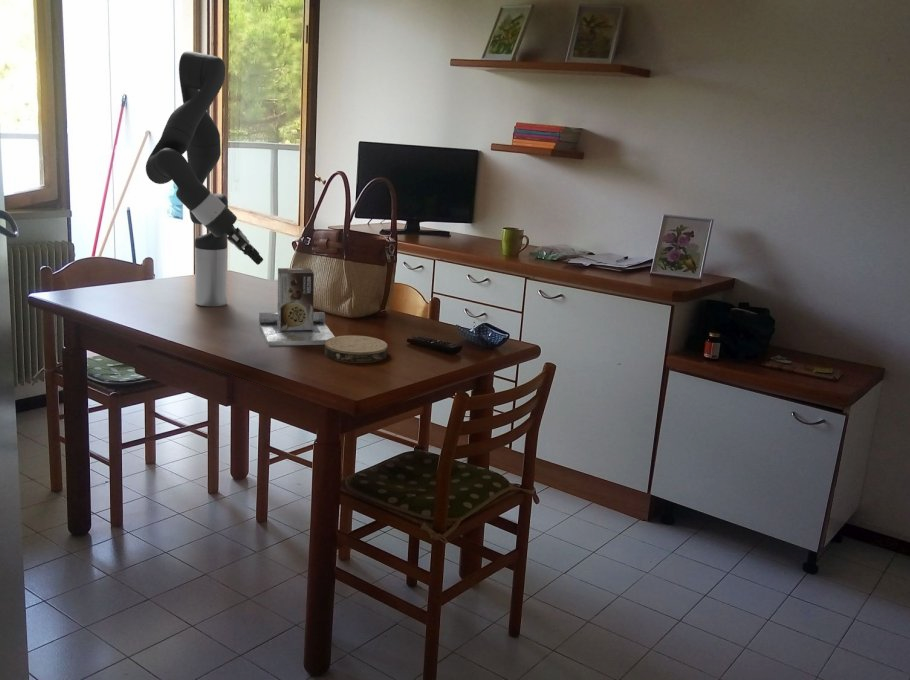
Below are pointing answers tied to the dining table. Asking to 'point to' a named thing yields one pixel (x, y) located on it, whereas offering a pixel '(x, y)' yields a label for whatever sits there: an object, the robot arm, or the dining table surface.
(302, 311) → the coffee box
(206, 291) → the robot arm
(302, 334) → the hinge plate
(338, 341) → the beige tambourine
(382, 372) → the dining table surface
